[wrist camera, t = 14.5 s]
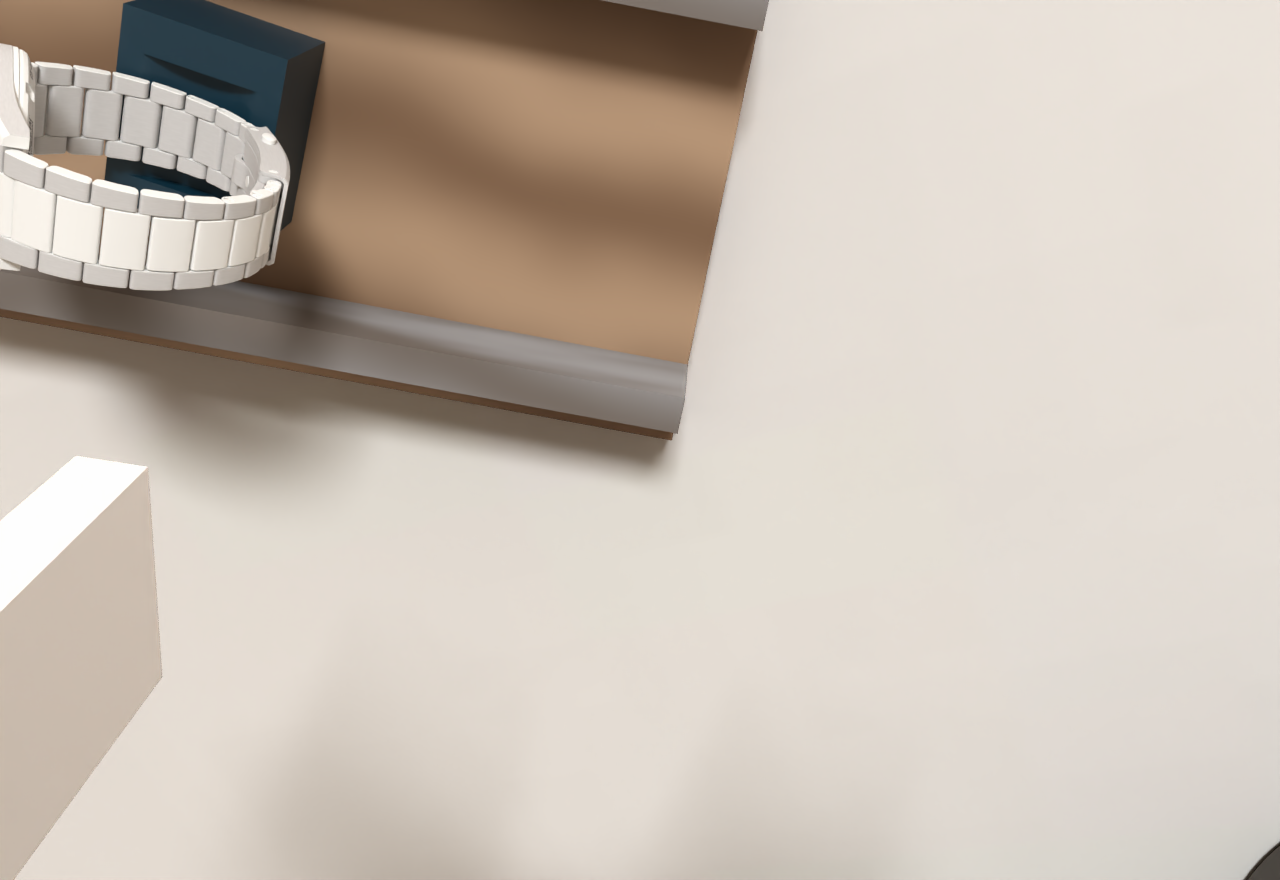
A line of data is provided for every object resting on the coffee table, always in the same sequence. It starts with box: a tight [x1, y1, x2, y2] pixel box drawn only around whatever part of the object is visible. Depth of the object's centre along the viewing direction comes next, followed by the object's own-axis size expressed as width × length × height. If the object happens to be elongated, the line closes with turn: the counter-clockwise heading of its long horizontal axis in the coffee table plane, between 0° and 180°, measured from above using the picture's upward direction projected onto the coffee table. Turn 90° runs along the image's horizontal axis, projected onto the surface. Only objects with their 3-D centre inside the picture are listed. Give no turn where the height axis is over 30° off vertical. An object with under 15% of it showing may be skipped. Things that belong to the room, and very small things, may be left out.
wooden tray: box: [0, 0, 769, 440], centre depth 33 cm, size 16×24×4 cm, turn 80°
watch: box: [0, 0, 325, 291], centre depth 29 cm, size 6×8×11 cm
